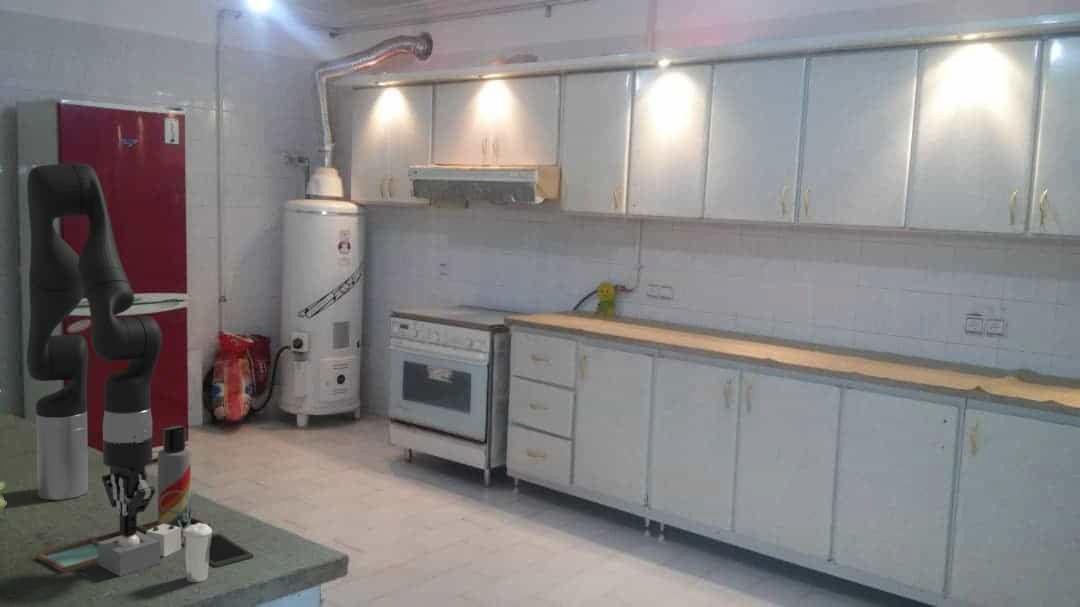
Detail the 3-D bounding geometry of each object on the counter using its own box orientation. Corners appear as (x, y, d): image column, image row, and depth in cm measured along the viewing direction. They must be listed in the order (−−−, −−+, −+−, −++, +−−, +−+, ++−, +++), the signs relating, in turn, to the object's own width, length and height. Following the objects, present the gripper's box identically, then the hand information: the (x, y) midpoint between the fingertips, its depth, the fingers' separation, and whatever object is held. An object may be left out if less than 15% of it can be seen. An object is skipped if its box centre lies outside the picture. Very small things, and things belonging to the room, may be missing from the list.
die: (146, 552, 156) (146, 527, 155) (163, 544, 159) (163, 520, 159) (164, 556, 154) (164, 531, 154) (180, 548, 158) (181, 524, 157)
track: (37, 558, 151) (37, 553, 151) (183, 516, 174) (183, 512, 173) (63, 572, 146) (63, 568, 146) (210, 528, 168) (210, 524, 168)
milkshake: (182, 572, 148) (182, 515, 147) (215, 572, 149) (215, 515, 148) (173, 584, 144) (173, 525, 143) (207, 584, 144) (207, 525, 143)
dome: (114, 560, 150) (113, 534, 150) (133, 554, 153) (133, 528, 152) (124, 566, 148) (124, 539, 148) (144, 560, 151) (143, 533, 150)
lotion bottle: (178, 536, 164) (178, 431, 162) (151, 532, 165) (151, 428, 163) (196, 525, 169) (196, 423, 167) (169, 522, 170) (169, 421, 168)
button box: (98, 564, 150) (97, 542, 149) (137, 552, 155) (137, 530, 155) (120, 576, 146) (120, 553, 145) (159, 563, 151) (159, 541, 151)
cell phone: (215, 570, 151) (215, 566, 151) (180, 545, 160) (180, 541, 160) (255, 559, 156) (255, 555, 156) (219, 536, 166) (219, 532, 165)
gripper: (85, 431, 149) (86, 531, 150) (127, 446, 141) (128, 551, 143) (128, 424, 155) (128, 519, 157) (170, 438, 147) (170, 538, 149)
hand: (128, 534), depth 150 cm, fingers closed
